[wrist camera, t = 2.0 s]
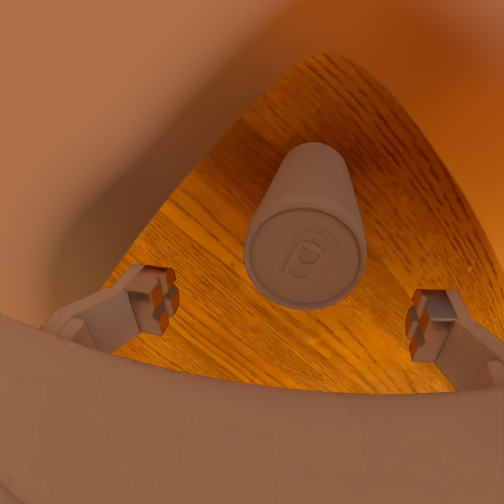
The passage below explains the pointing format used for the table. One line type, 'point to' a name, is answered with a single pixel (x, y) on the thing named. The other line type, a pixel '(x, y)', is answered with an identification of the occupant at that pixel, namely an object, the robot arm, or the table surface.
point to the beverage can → (307, 232)
